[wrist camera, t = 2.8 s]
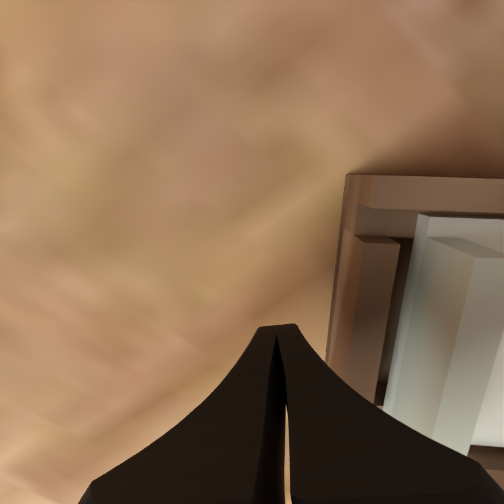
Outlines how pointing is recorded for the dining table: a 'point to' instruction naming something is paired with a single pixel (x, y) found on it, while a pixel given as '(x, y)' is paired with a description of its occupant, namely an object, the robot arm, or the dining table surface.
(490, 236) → the cover plate
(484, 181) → the groove box
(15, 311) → the dining table surface
